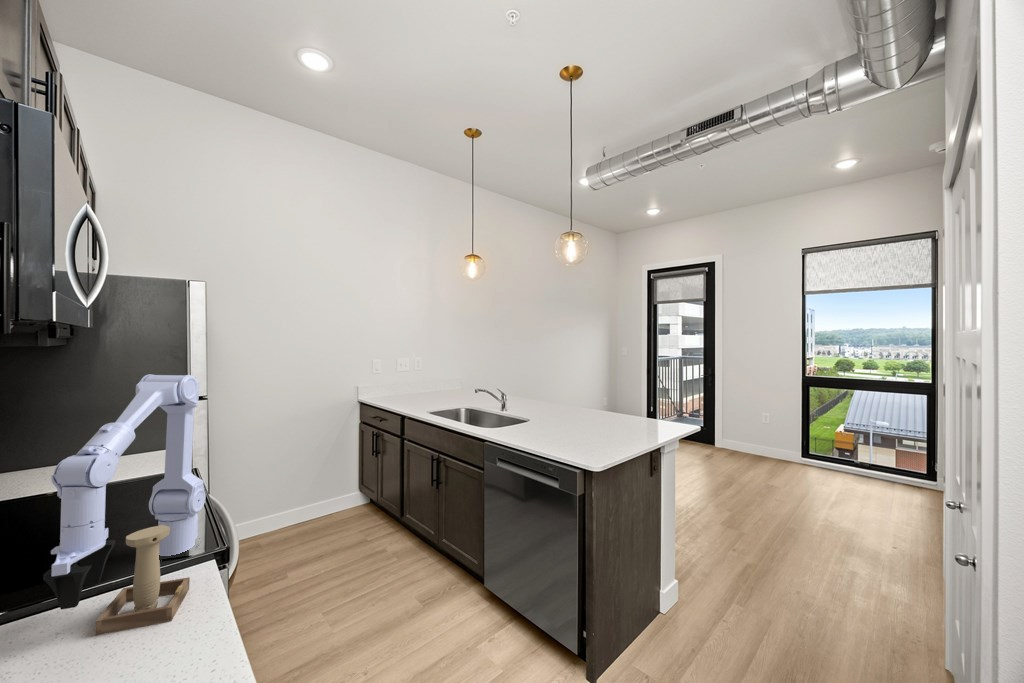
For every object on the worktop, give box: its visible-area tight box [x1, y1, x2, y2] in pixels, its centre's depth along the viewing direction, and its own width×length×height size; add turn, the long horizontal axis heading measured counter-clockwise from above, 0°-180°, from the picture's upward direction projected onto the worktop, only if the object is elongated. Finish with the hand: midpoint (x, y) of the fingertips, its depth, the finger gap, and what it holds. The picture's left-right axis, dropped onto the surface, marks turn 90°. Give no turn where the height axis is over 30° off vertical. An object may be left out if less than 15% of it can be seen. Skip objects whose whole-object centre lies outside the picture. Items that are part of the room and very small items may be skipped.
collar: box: [94, 577, 190, 637], centre depth 81 cm, size 11×11×3 cm
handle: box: [125, 525, 170, 612], centre depth 81 cm, size 5×6×15 cm
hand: (81, 595), depth 77 cm, fingers open, 7 cm apart
